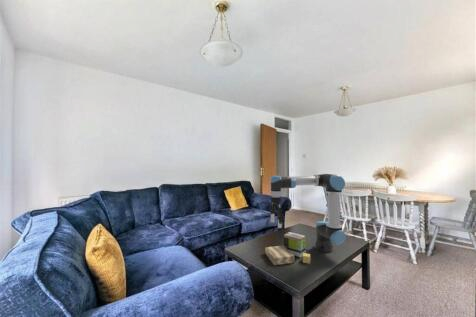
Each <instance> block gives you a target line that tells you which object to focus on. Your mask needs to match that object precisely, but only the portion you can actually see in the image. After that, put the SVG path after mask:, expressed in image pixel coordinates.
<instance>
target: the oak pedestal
mask: <svg viewBox="0 0 476 317" xmlns="http://www.w3.org/2000/svg"><path fill="white" fill-rule="evenodd" d="M264 251H265V252H264V254H265V255H266V256H267V258H268V257H269V258H268V259H269V260H270V261H271V263H272V264H273V265H274V266H278V265H279V266H280V265H287V264H294V263H295V261H296V260H295V258H296V257H295V255H293V254H292V253H291V252H290V251H289V250H288V249H287V248H286V247H284V245H277V246H275V245H274V246H266V247H265V250H264Z"/></svg>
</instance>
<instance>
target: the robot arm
mask: <svg viewBox="0 0 476 317" xmlns="http://www.w3.org/2000/svg"><path fill="white" fill-rule="evenodd" d="M297 186H315V187H322V188H325V192H326V193H327V221H326V220H321V221H320V220H319V221H316V223H315V241H314V243H313V247H314V249H315V250H316V251H319V252H322V253H331V252H333V251H334V246H333V244H334V245H337V246H338V245H341V244H343V242H345V240H346V238H347V236H346V235H347V234H346V233H345V231H343V226H342V225H341V202H340V201H341V198H340V196H341V194H342V193H343V190H344V188H345V187H346V181H345V179H344V177H342V176H341V175H339V174H333V173H332V174H330V173H322V174H321V173H320V174H313V175H310V176H309V175H308V176H307V175H303V176H302V175H301V176H297V175H296V176H280V175H271V177H270V205H269V206H270V207H269V213H270V223H275V212H276V215H277V229H282V228H283V219H284V214H283V209H282V204H280V203H281V202H282V197H281V196H282V189H294V188H296V187H297Z"/></svg>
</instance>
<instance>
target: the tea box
mask: <svg viewBox="0 0 476 317" xmlns="http://www.w3.org/2000/svg"><path fill="white" fill-rule="evenodd" d="M306 237H307V236H306V235H303V234H300V233H296V232H291V231H289V232H287V233H285V234H284V235H283V246H284V247H286V248H287V249H288V250H289V251H290V252H291V253H292V254H293V255H294V256H296V257H298V258H303V253H307V243H306V242H307V241H306Z"/></svg>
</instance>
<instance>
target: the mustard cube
mask: <svg viewBox="0 0 476 317" xmlns="http://www.w3.org/2000/svg"><path fill="white" fill-rule="evenodd" d="M302 263H303V264H304V263H305V264H309V265H310V264H311V254H310V253H307V252H306V253H303V256H302Z"/></svg>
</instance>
